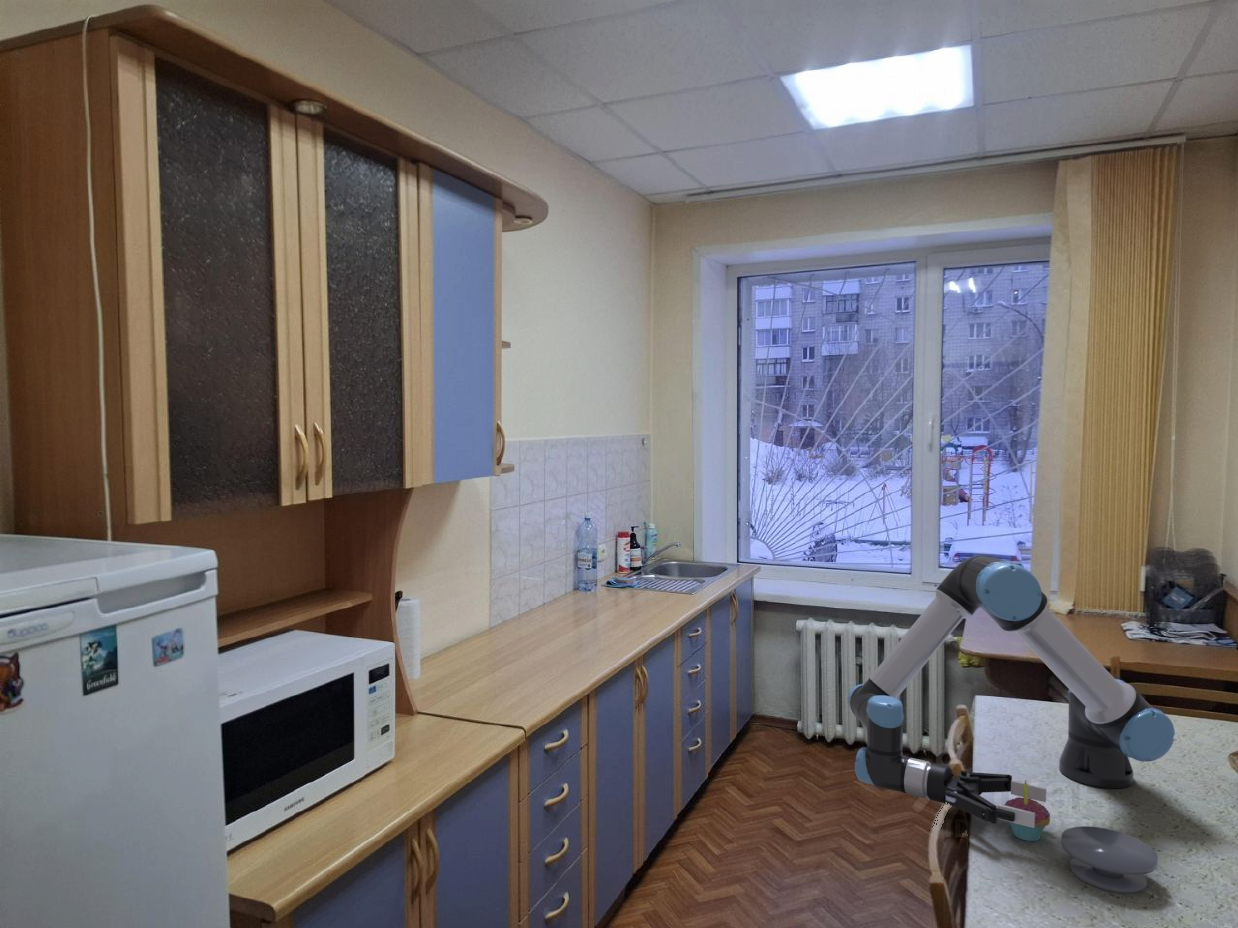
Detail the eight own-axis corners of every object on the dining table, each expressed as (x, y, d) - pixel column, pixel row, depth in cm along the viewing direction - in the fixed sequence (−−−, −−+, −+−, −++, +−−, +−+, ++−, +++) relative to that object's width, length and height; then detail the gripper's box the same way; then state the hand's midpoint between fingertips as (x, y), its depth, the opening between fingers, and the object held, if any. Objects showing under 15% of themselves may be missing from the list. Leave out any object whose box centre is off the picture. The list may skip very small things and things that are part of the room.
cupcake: (1047, 850, 157) (1049, 789, 157) (999, 838, 162) (1000, 779, 161) (1051, 831, 165) (1052, 773, 164) (1005, 821, 169) (1006, 764, 169)
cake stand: (1129, 856, 155) (1130, 828, 155) (1175, 900, 140) (1176, 870, 140) (1047, 851, 157) (1047, 824, 157) (1083, 895, 142) (1084, 865, 142)
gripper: (944, 778, 184) (1049, 802, 172) (912, 820, 164) (1028, 851, 152) (945, 745, 184) (1050, 767, 172) (912, 783, 164) (1029, 812, 151)
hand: (1040, 807), depth 162 cm, fingers open, 13 cm apart
